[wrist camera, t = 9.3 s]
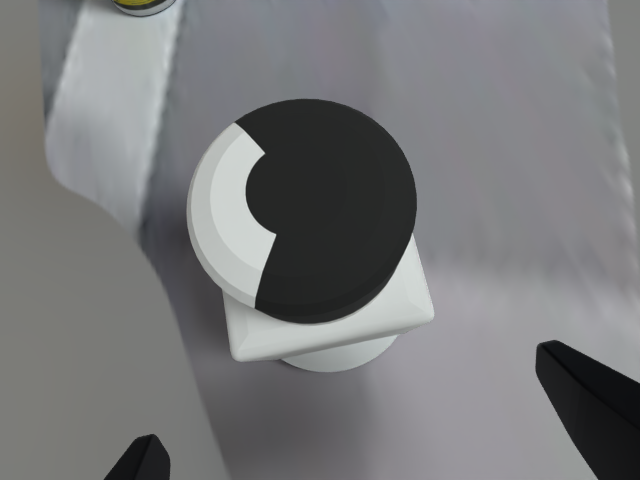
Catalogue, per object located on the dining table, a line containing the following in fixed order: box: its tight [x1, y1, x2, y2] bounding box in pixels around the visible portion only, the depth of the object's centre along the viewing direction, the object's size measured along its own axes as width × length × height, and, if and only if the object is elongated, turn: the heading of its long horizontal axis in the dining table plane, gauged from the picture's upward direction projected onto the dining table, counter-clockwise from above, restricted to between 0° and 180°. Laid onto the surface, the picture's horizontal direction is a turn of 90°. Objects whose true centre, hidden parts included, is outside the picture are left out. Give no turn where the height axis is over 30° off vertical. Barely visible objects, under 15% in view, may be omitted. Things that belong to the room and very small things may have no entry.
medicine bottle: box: [187, 99, 434, 362], centre depth 16 cm, size 7×7×12 cm
